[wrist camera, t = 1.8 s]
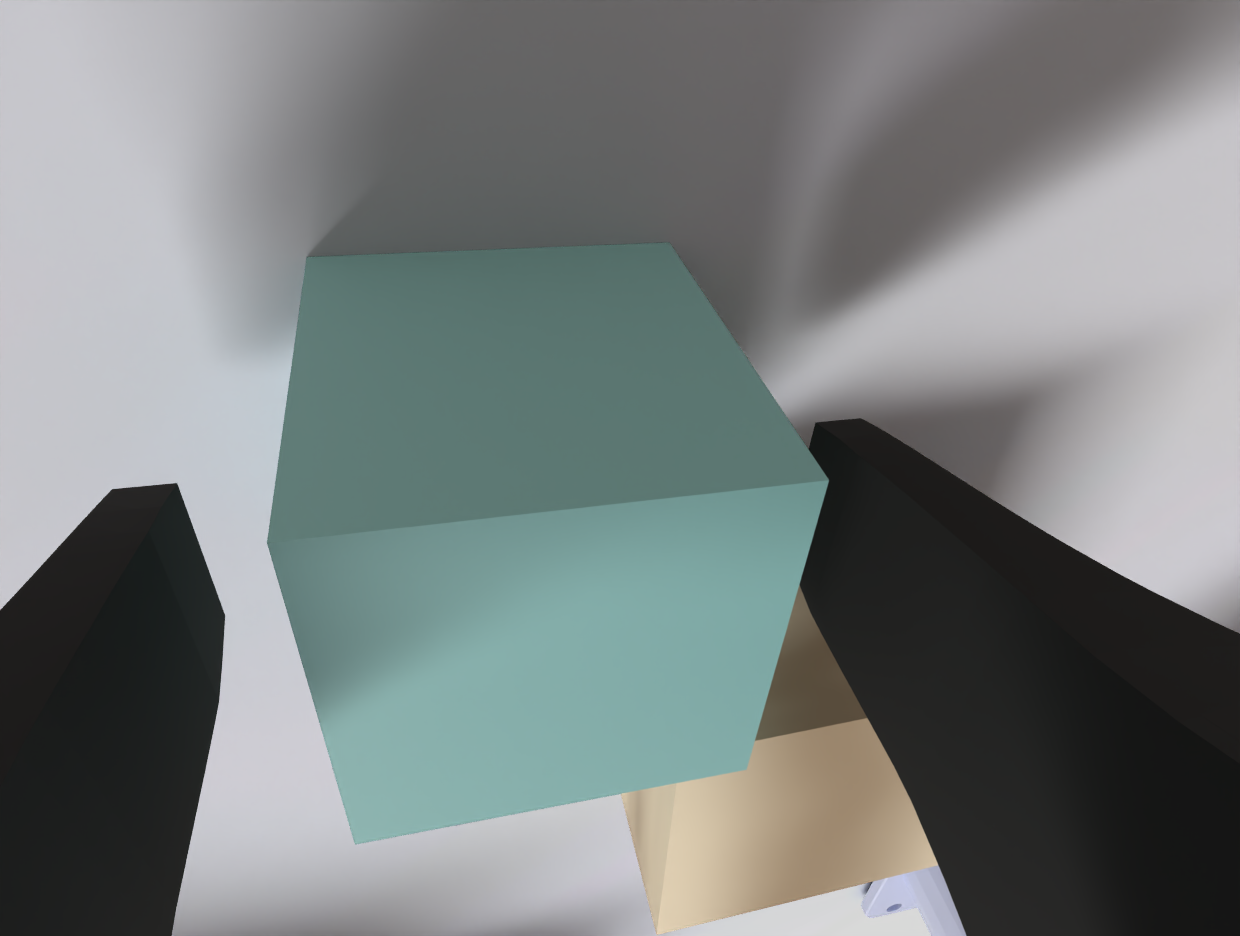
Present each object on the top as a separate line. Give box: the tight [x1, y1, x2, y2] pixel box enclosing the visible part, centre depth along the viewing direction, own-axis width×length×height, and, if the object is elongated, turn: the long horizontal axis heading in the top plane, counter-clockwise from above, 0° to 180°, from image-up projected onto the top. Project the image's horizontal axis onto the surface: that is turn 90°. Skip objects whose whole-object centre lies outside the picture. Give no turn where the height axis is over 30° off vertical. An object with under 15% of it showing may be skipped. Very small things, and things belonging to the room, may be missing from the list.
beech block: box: [621, 585, 938, 935], centre depth 15 cm, size 6×6×4 cm
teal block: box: [267, 242, 829, 844], centre depth 10 cm, size 4×4×5 cm
